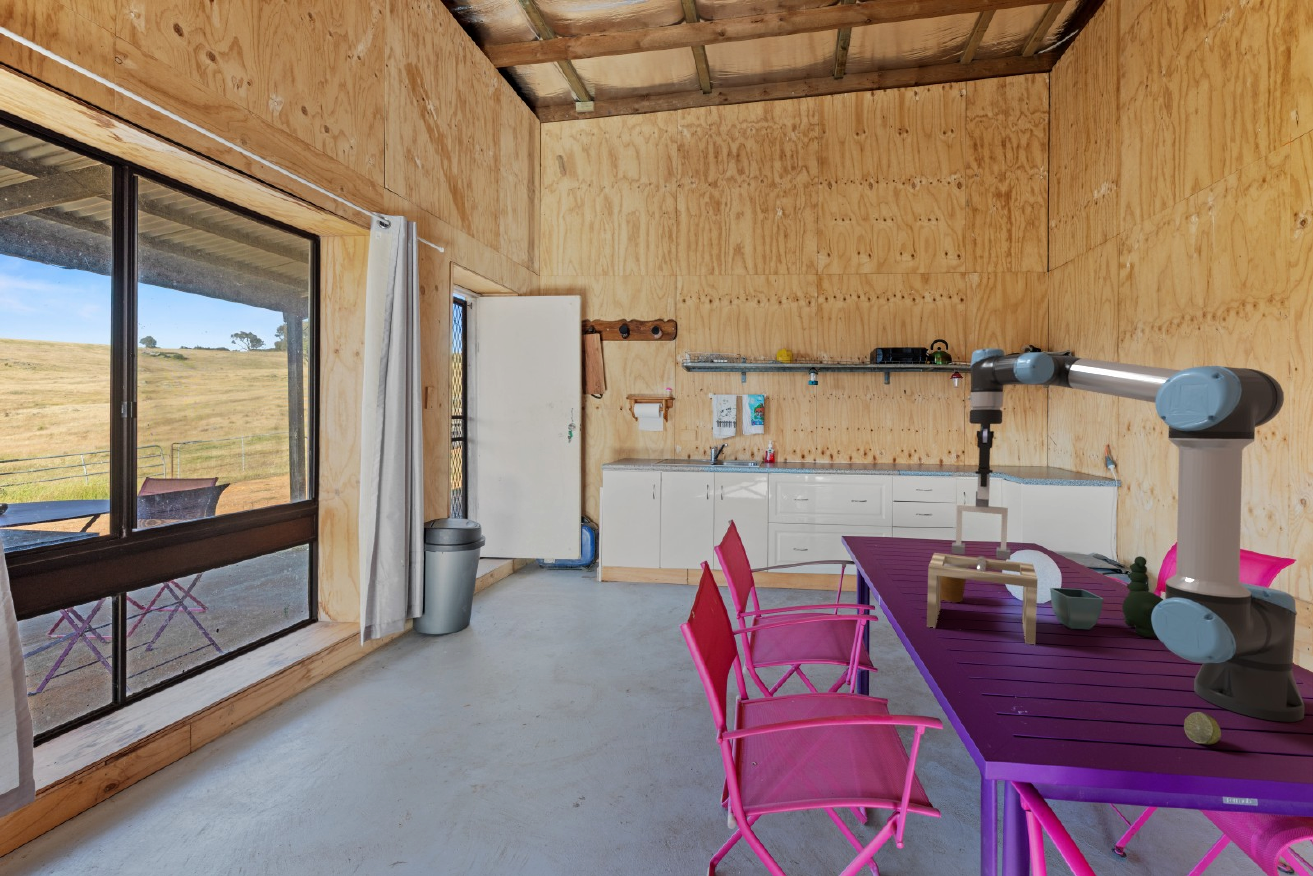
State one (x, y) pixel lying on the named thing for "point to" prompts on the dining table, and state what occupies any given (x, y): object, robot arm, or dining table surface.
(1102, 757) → the dining table surface
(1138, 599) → the dark green tiered figure
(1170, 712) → the dining table surface
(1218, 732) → the lime
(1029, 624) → the beige wooden frame
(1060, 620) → the flower pot
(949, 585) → the disposable coffee cup
